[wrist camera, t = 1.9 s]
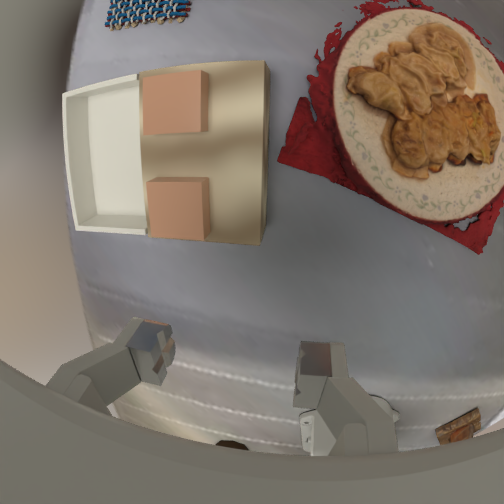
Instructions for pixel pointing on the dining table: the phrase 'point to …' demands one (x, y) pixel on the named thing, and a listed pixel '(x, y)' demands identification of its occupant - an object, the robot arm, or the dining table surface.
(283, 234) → the dining table surface
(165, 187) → the terracotta tile
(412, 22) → the plate with food
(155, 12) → the woven mat
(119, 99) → the box
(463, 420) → the bird sculpture
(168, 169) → the wooden box sleeve
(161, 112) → the terracotta tile
